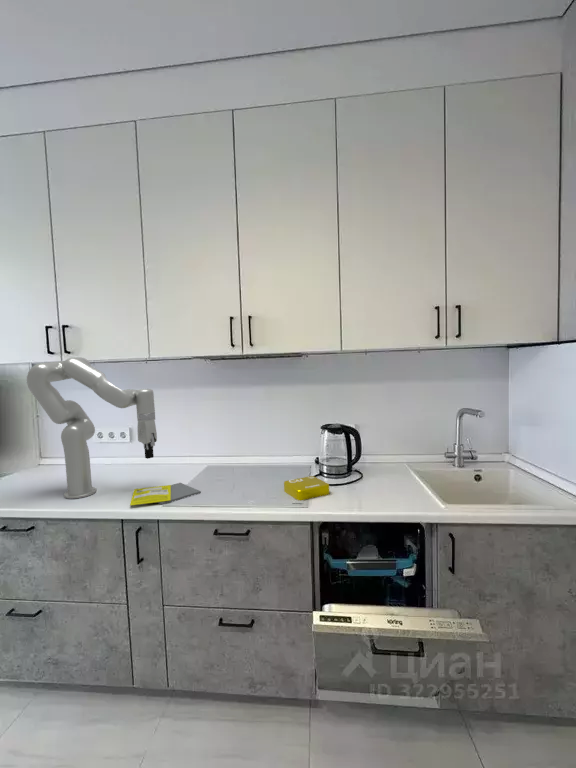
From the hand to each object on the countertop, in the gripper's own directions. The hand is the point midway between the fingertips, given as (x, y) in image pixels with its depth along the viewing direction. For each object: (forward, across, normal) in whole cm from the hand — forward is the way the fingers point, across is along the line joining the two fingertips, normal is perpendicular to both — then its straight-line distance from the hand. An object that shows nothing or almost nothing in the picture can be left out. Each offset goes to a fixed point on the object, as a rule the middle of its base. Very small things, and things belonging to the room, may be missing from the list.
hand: (149, 457), depth 179 cm
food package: (+13, +2, 0) cm, 13 cm away
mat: (+14, +13, +3) cm, 20 cm away
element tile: (+15, +56, +41) cm, 71 cm away
